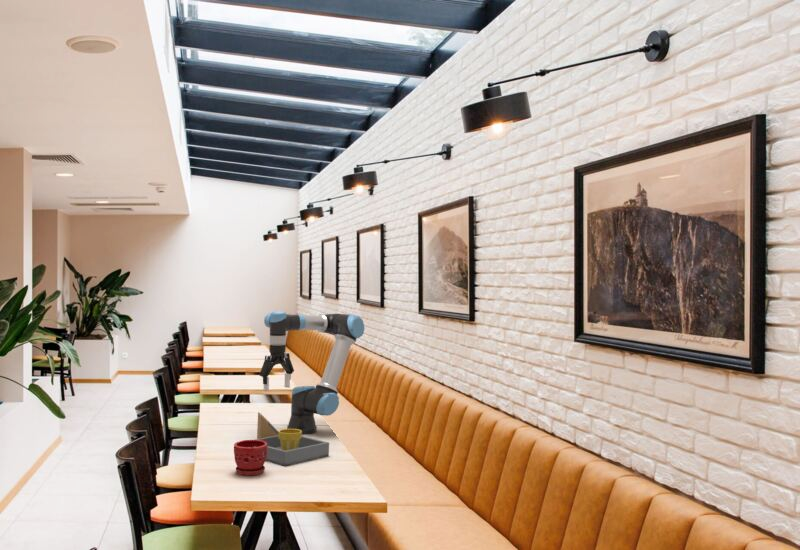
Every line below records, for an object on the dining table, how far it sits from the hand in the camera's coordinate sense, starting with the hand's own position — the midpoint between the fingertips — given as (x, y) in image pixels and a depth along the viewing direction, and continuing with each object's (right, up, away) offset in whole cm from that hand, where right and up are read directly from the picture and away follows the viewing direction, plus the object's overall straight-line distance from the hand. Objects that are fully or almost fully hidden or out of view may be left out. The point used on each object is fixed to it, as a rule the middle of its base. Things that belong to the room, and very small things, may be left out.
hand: (276, 389), depth 338 cm
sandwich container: (-1, -26, 0) cm, 26 cm away
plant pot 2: (+9, -25, -19) cm, 33 cm away
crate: (+8, -26, -20) cm, 34 cm away
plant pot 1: (-2, -26, -50) cm, 57 cm away
